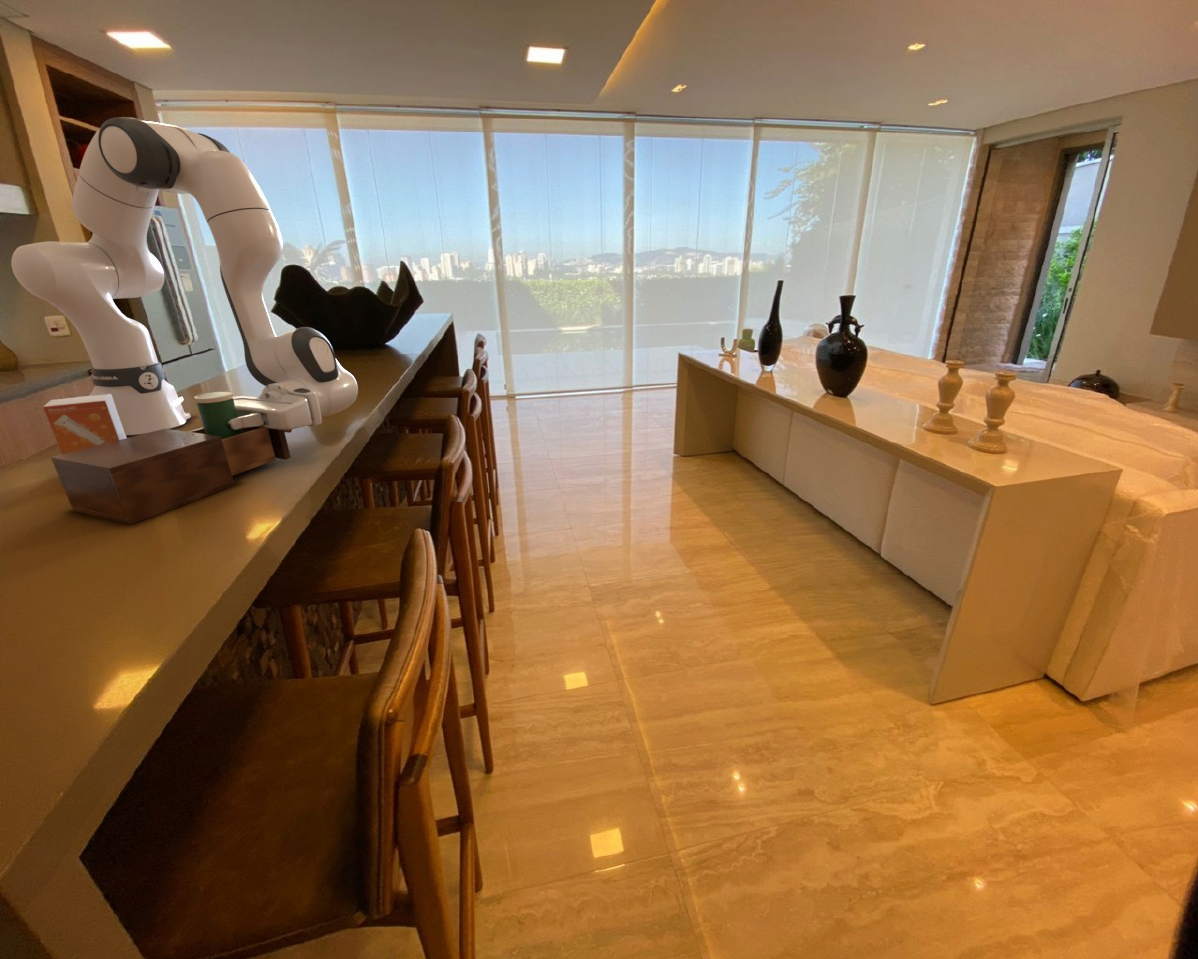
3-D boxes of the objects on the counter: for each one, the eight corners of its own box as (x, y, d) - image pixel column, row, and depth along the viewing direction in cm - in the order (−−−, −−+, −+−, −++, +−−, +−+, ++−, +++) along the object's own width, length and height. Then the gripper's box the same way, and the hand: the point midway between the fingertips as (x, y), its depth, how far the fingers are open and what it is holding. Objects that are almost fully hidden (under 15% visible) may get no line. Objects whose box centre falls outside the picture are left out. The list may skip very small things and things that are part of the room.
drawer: (263, 444, 106) (254, 411, 104) (309, 450, 102) (301, 416, 100) (164, 476, 90) (151, 438, 88) (214, 485, 86) (202, 446, 84)
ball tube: (205, 458, 93) (186, 397, 89) (234, 449, 97) (217, 390, 93) (227, 462, 91) (208, 399, 87) (255, 452, 96) (239, 392, 92)
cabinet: (180, 475, 93) (165, 428, 90) (235, 485, 89) (221, 436, 85) (73, 511, 80) (50, 457, 76) (131, 524, 75) (109, 468, 72)
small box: (71, 479, 92) (40, 406, 87) (78, 469, 96) (50, 399, 92) (131, 470, 96) (105, 399, 91) (135, 460, 101) (111, 393, 96)
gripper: (243, 385, 105) (170, 401, 93) (321, 392, 99) (253, 410, 87) (251, 416, 108) (181, 435, 96) (328, 424, 101) (263, 446, 89)
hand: (216, 423), depth 91 cm, fingers closed on ball tube, 5 cm apart
